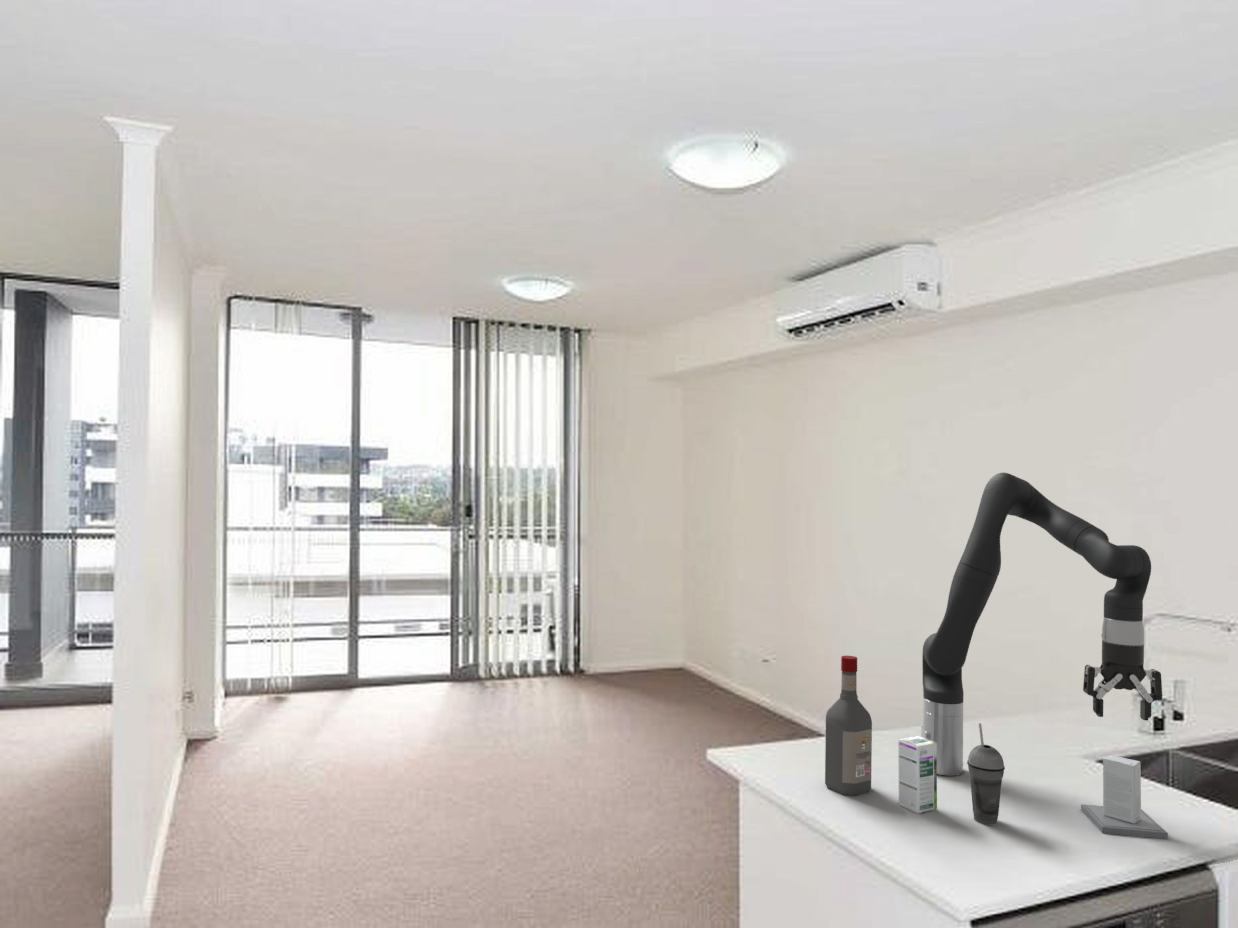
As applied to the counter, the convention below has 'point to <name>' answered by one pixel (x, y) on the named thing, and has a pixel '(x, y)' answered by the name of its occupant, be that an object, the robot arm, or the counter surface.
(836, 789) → the liquor
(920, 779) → the syrup box
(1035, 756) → the counter surface
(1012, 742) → the counter surface
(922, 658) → the robot arm
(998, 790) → the beverage cup
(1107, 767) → the skincare box
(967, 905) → the counter surface
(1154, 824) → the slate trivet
